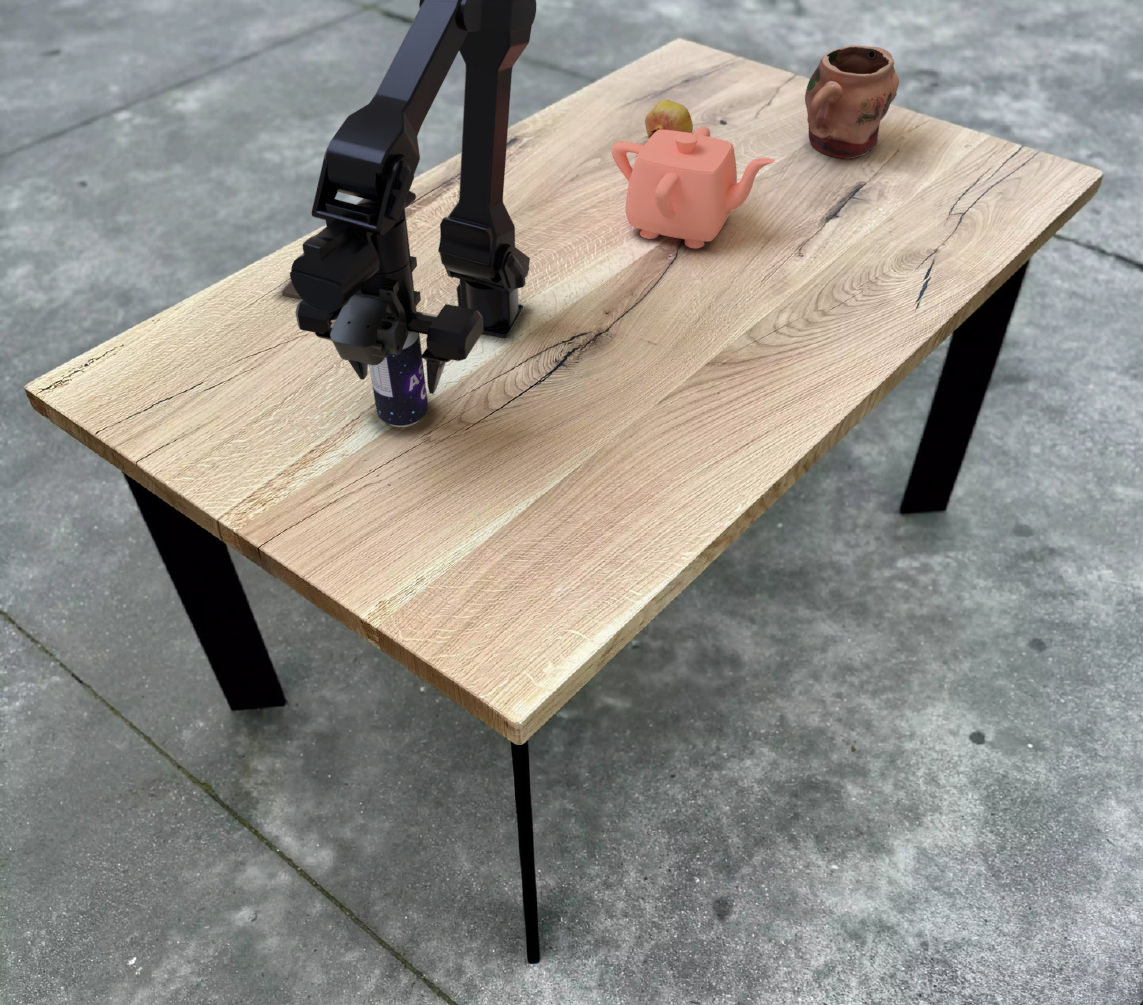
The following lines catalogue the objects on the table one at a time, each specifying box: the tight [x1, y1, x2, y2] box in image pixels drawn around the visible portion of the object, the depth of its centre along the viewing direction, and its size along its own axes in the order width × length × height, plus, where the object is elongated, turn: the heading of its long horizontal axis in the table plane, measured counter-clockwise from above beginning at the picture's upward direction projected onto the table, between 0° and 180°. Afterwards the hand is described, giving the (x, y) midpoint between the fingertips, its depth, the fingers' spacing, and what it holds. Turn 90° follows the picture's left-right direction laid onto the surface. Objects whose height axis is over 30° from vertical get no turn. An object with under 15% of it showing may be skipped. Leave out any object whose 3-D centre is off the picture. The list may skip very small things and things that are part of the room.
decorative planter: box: [804, 44, 900, 159], centre depth 161 cm, size 20×12×14 cm, turn 143°
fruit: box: [644, 99, 694, 140], centre depth 164 cm, size 7×7×10 cm
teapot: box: [611, 126, 776, 249], centre depth 145 cm, size 17×16×13 cm
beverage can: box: [368, 331, 429, 428], centre depth 117 cm, size 6×6×12 cm
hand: (398, 384), depth 118 cm, fingers closed on beverage can, 8 cm apart
